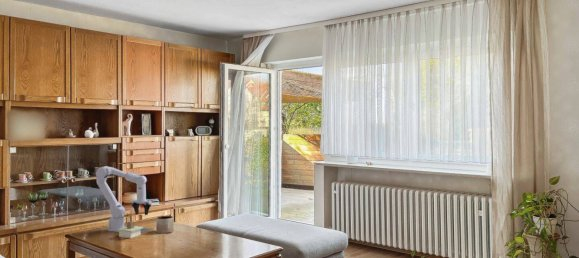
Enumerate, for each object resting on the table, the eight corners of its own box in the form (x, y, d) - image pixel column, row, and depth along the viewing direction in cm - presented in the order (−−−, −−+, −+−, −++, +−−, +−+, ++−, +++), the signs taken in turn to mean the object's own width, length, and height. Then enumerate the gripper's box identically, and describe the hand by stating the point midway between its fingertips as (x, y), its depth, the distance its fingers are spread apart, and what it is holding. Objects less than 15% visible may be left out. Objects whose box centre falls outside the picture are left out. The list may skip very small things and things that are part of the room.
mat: (127, 232, 292) (127, 231, 292) (139, 228, 303) (139, 227, 303) (142, 233, 288) (142, 233, 288) (154, 229, 299) (154, 228, 299)
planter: (170, 234, 287) (170, 219, 287) (154, 234, 287) (154, 219, 287) (175, 230, 298) (175, 215, 298) (159, 230, 298) (159, 215, 298)
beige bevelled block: (119, 237, 278) (119, 230, 278) (129, 234, 286) (129, 227, 286) (130, 239, 274) (130, 231, 274) (140, 235, 283) (140, 228, 283)
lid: (117, 230, 278) (117, 222, 277) (129, 226, 288) (129, 219, 288) (131, 232, 274) (131, 224, 274) (143, 228, 284) (143, 220, 284)
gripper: (154, 193, 299) (154, 214, 299) (136, 192, 304) (136, 212, 304) (147, 195, 292) (147, 216, 292) (129, 194, 297) (129, 214, 297)
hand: (141, 214), depth 298 cm, fingers open, 7 cm apart
